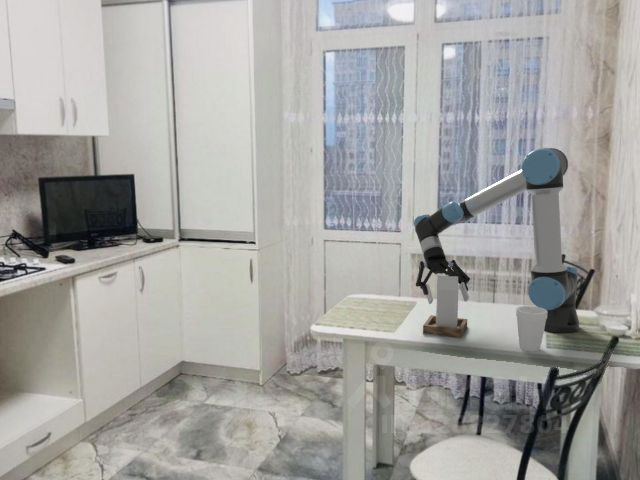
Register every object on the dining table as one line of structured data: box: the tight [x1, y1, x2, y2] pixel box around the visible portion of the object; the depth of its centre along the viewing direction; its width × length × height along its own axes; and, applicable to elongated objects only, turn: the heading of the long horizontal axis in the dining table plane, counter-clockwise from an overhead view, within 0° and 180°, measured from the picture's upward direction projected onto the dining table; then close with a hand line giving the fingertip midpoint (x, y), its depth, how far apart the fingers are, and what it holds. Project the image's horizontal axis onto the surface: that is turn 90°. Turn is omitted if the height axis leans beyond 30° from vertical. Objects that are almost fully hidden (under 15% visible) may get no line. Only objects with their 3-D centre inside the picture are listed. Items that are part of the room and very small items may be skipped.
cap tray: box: [422, 314, 468, 339], centre depth 210 cm, size 13×13×3 cm
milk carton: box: [435, 275, 459, 328], centre depth 209 cm, size 7×7×19 cm
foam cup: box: [515, 305, 547, 353], centre depth 190 cm, size 10×9×13 cm
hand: (449, 300), depth 206 cm, fingers open, 13 cm apart
